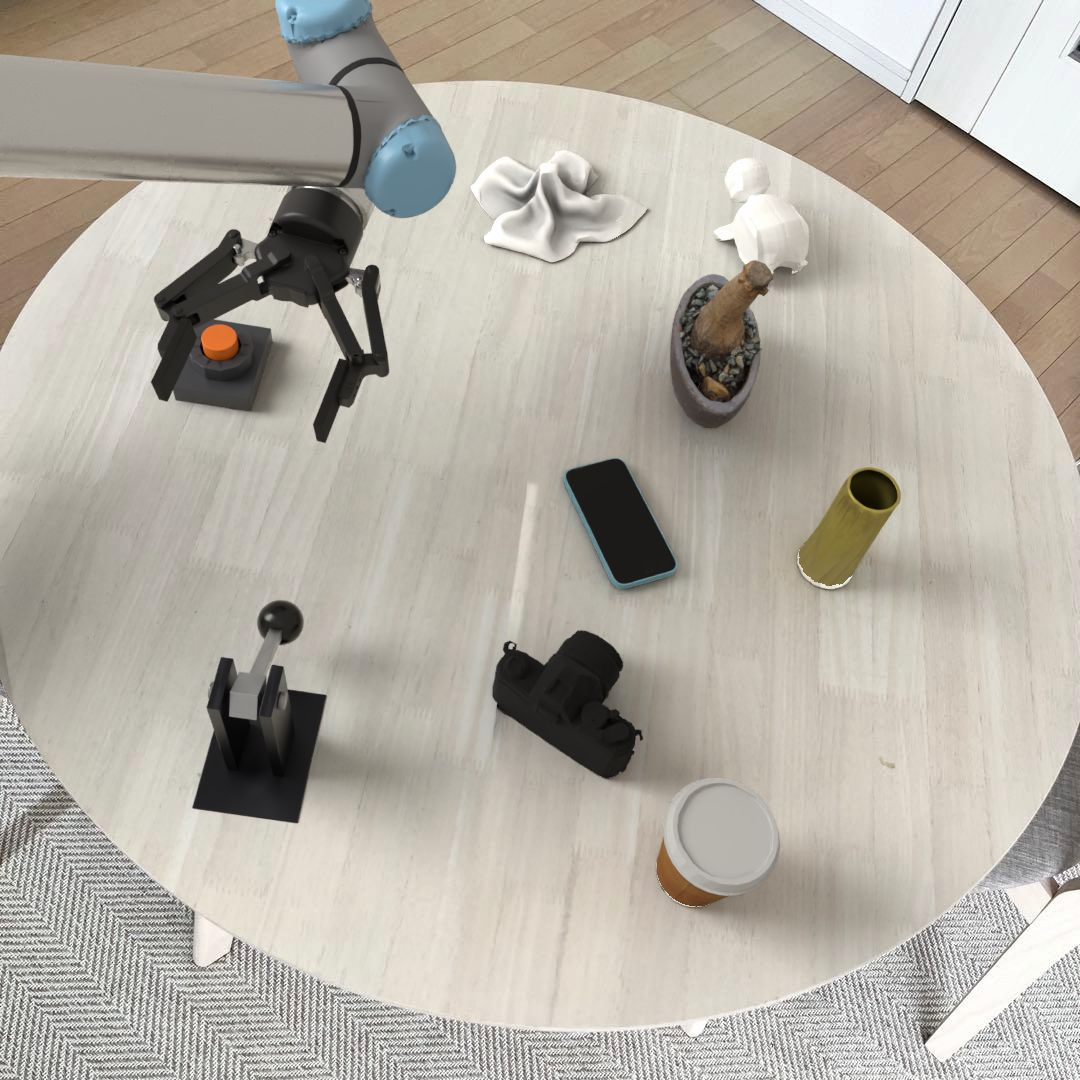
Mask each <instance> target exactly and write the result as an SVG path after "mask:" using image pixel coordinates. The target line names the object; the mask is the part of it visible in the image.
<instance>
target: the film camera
mask: <svg viewBox="0 0 1080 1080" xmlns="http://www.w3.org/2000/svg"><path fill="white" fill-rule="evenodd" d="M510 644H513V645H514V646H512V648H510ZM517 645H518V644H517V643H516V642H514V641H512V640H507V641H505V642H504V643H503V646H502V651H503V653H504V654H503V656H502V657H501V658H500V659H499V660H498V662H497V664H496V666H495V672H494V680H493V683H492V691H491V692H492V699H493V700H494V701H495V703H496V708H498V710H500V711H501V712H502V713H504V714H505V715H507V716H509V717H510V718H511V719H513V720H514V721H515V722H516V723H518V724H519V725H521V726H523V727H524V728H526V729H527V730H528V731H530V732H531V733H533V734H534V735H536V736H537V737H539V738H540V739H542V740H543V742H545V743H547V744H548V745H550V746H552V747H553V748H555V750H558V751H559V752H561V753H562V754H563V755H565V756H567V757H568V758H570V759H571V760H572V761H574V762H575V763H577V764H578V765H580V766H581V767H583V768H585V769H586V770H588V771H589V772H591V773H593V774H595V775H596V776H598V777H600V776H601V778H603V779H607V780H609V779H611V778H614V777H616V776H618V775H619V774H620V773H624V772H625V771H626V770H627V767H628V765H629V764H630V762H631V760H632V757H633V756H634V754H635V753H636V752H635V750H634V749H635V747H636V740H637V737H638V736H639V742H643V740H644V736H643V730H642V729H636V727H635V725H634V724H633V722H630V721H628V720H627V719H625V717H622V716H621V713H620V711H619V710H618V709H617V708H613V709H611V708H609V707H608V706H606V705H604V702H605V701H606V700H607V698H608V697H609V694H610V691H611V690H612V689H613V687H614V686H615V685H616V683H617V682H618V681H619V679H620V678H621V677H620V676H621V672H622V671H623V668H624V661H623V659H622V657H621V655H620V653H619V652H618V651H617V649H616V648H615V647H614V646H613V645H612V644H611V643H610V642H608V641H607V640H605V639H604V638H602V637H601V636H600V635H598V634H595V633H592V632H590V631H588V630H582V629H580V630H576V631H575V632H574V633H572V635H571V636H570V637H568V638H566V639H565V640H564V641H563V642H562V644H561V645H560V646H559V648H558V649H557V650H556V652H555V653H553V654H552V655H551V657H550V658H549V659H548V661H546V663H542V662H541V661H539V660H538V659H536V658H535V657H533V656H531V655H530V654H529V653H527V652H524V651H521V650H518V649H517Z"/></svg>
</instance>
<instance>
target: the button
mask: <svg viewBox="0 0 1080 1080" xmlns="http://www.w3.org/2000/svg"><path fill="white" fill-rule="evenodd" d="M201 340H202V345H203V350H204V353H205V355H206V356H207V357H209V358H210V359H212V360H215V361H226V360H229V359H231V358H232V357H234V356H235V355H236V354H237V352H238V348H239V346H238V340H237V335H236V332H235V331H234V330H233V329H232V328H231V327H229V326H227V325H221V324H218V325H213V326H210V327H208V328H207V329H206V330H205V331H204V332H203V334H202V336H201Z"/></svg>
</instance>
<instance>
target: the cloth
mask: <svg viewBox="0 0 1080 1080" xmlns="http://www.w3.org/2000/svg"><path fill="white" fill-rule="evenodd" d="M597 179H598V175H597V173H595V171H594V168H593V165H592V163H591V162H590V161H589V160H588V159H587V158H586V157H584V156H581V155H579V154H577V153H575V152H573V151H570V150H568V149H561V150H556V151H555V152H554V155H553V156H552V157H551V158H550V159H549V160H548V161H547V162H542V163H540V164H539V166H538V167H537V169H536V170H534V169H533V168H532V167H531V166H530V165H528V164H526V163H525V162H523V161H521V160H520V159H516V158H514V157H511V156H502V157H499V158H498V159H497V160H495V161H494V162H491V164H490V165H488V166H487V167H486V168H485V169H484V170H483V171H482V172H481V174H480V175H479V177H478V178H477V179H476V181H475V182H474V183H473V184H471V185H470V190H471V192H472V194H473V195H474V197H475V199H476V200H477V202H478V204H479V205H480V207H481V208H482V209H483V210H484V212H485V213H486V214H487V215H488V216H489V218H491V220H493V224H492V227H491V230H490V231H488V233H487V234H485V235H484V236H483V241H484V243H485V244H486V245H491V246H495V247H498V248H503V249H507V250H511V251H514V252H518V253H523V254H525V255H527V256H531V257H535V258H538V259H541V260H544V261H545V262H548V263H555V262H558V261H562V260H564V259H566V258H568V257H570V256H571V255H572V254H573V253H574V252H575V251H576V249H577V247H578V245H579V244H580V243H581V242H591V243H592V242H593V243H594V242H595V243H607V242H610V241H613V240H615V239H617V238H619V237H618V235H620V234H619V232H620V233H621V231H620V230H622V229H621V228H620V227H622V226H621V225H619V226H618V225H617V223H618V222H617V221H616V220H618V218H620V216H622V213H623V211H625V210H626V209H628V207H629V205H628V204H630V203H629V202H630V201H629V200H627V199H628V198H629V197H628V196H626V198H627V197H628V198H627V199H626V200H625V199H624V198H625V197H624V196H625V195H624V196H622V195H623V194H619V195H618V194H610V193H602V194H594V195H592V196H589V195H588V194H587V192H588V191H589V190H590V189H591V187H592V186H593V185H594V184H595V183H596V181H597ZM592 184H593V185H592ZM588 189H589V190H588ZM628 201H629V202H628ZM627 206H628V207H627ZM624 208H625V210H624ZM626 211H627V210H626ZM624 217H625V216H624ZM623 219H624V218H623ZM618 221H619V220H618ZM621 221H622V222H624V221H623V220H622V219H621ZM621 224H622V223H621ZM622 225H623V224H622ZM616 237H617V238H616ZM614 238H615V239H614ZM612 239H613V240H612Z"/></svg>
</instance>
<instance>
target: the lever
mask: <svg viewBox="0 0 1080 1080" xmlns="http://www.w3.org/2000/svg"><path fill="white" fill-rule="evenodd" d="M304 625H305V619H304V615H303V613H302V611H301V609H300V608H299V606H297V605H296V604H295V603H294V602H292V601H289V600H286V599H276V600H273V601H270V602H268V603H266V604H265V605H264V606H263V607H262V609H261V610H260V611H259V613H258V616H257V620H256V626H257V631H258V633H259V635H260V637H261V638H262V639H263V641H262V644H261V647H260V648H259V651H258V653H257V655H256V657H255V659H254V662H253V664H252V666H251V668H250V671H249V672H244V671H239V672H238V673H237V675H238V676H237V678H236V680H235V682H234V684H233V686H232V688H231V691H230V702H229V716H230V717H237V718H244V719H251V720H257V718H258V716H259V711H260V707H261V703H262V699H263V696H264V692H265V688H266V684H267V680H268V675H267V674H268V672H269V670H270V668H271V665H272V663H273V660H274V658H275V655H276V653H277V651H278V649H279V646H286V645H290V644H292V643H294V641H296V640H297V639H298V638H299V637H300V636H301V634H302V632H303V631H304Z"/></svg>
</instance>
